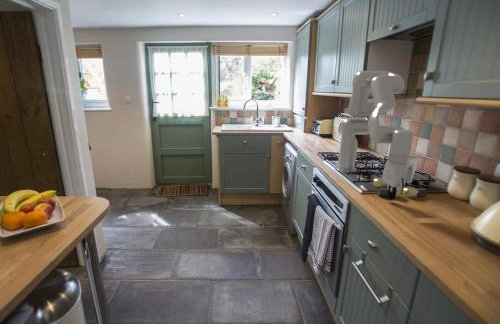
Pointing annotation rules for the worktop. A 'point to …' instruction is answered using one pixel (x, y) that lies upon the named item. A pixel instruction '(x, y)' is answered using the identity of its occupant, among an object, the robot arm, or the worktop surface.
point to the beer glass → (411, 168)
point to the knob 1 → (384, 192)
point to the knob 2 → (413, 192)
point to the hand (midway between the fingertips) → (390, 199)
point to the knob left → (378, 182)
